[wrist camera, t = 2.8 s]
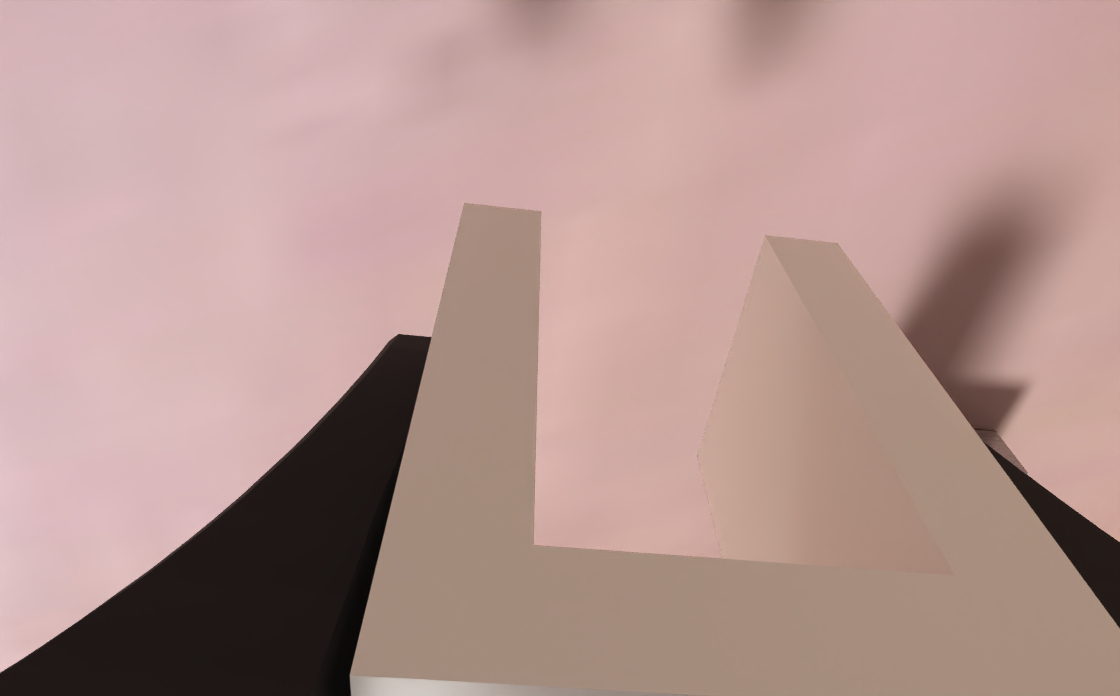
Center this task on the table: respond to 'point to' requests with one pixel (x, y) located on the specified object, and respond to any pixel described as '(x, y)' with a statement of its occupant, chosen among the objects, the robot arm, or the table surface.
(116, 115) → the table surface
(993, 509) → the clip
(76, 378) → the table surface
